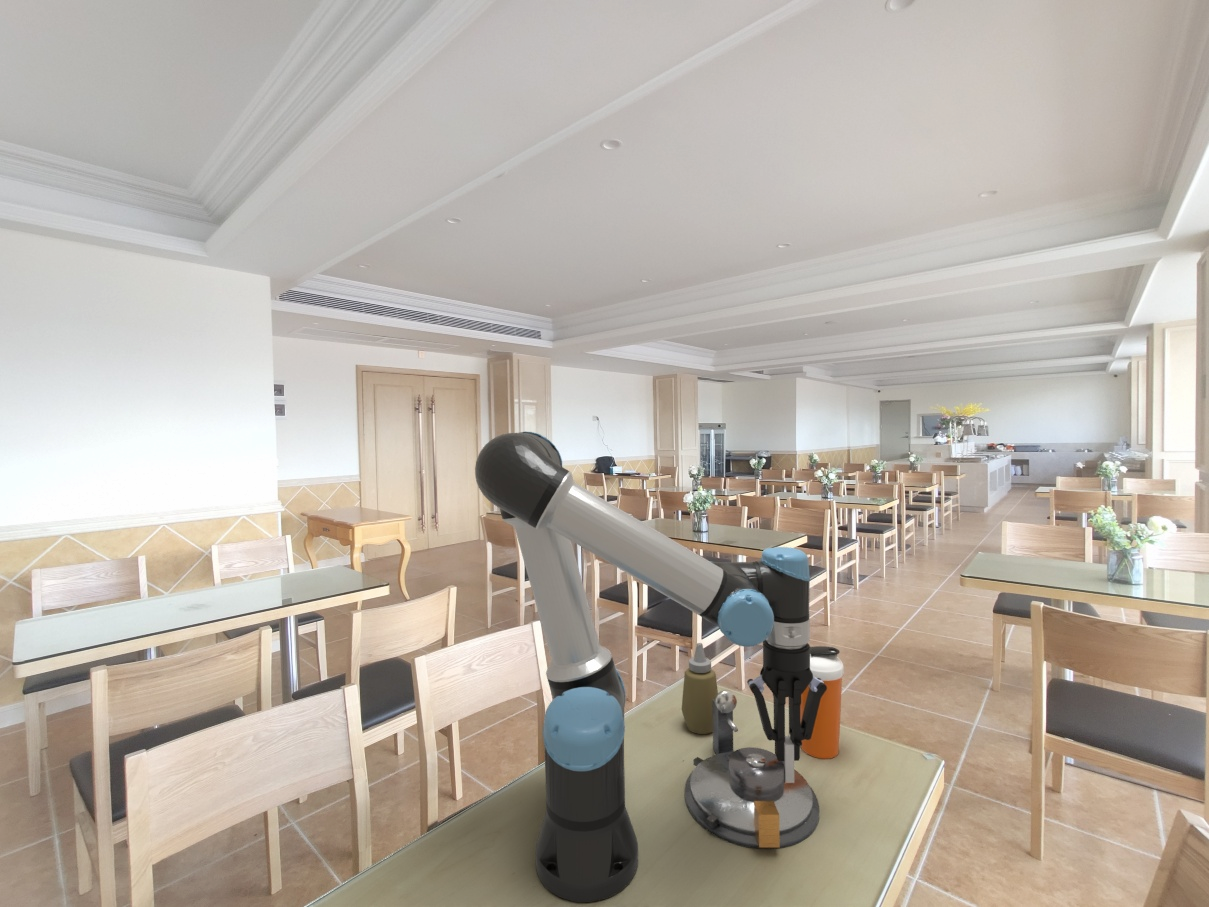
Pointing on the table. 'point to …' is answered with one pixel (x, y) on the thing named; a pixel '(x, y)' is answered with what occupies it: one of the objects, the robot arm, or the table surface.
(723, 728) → the indicator post
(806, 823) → the turntable base
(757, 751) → the cover
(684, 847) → the table surface
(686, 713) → the squeeze bottle
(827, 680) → the shaker bottle
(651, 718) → the table surface
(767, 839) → the platter
